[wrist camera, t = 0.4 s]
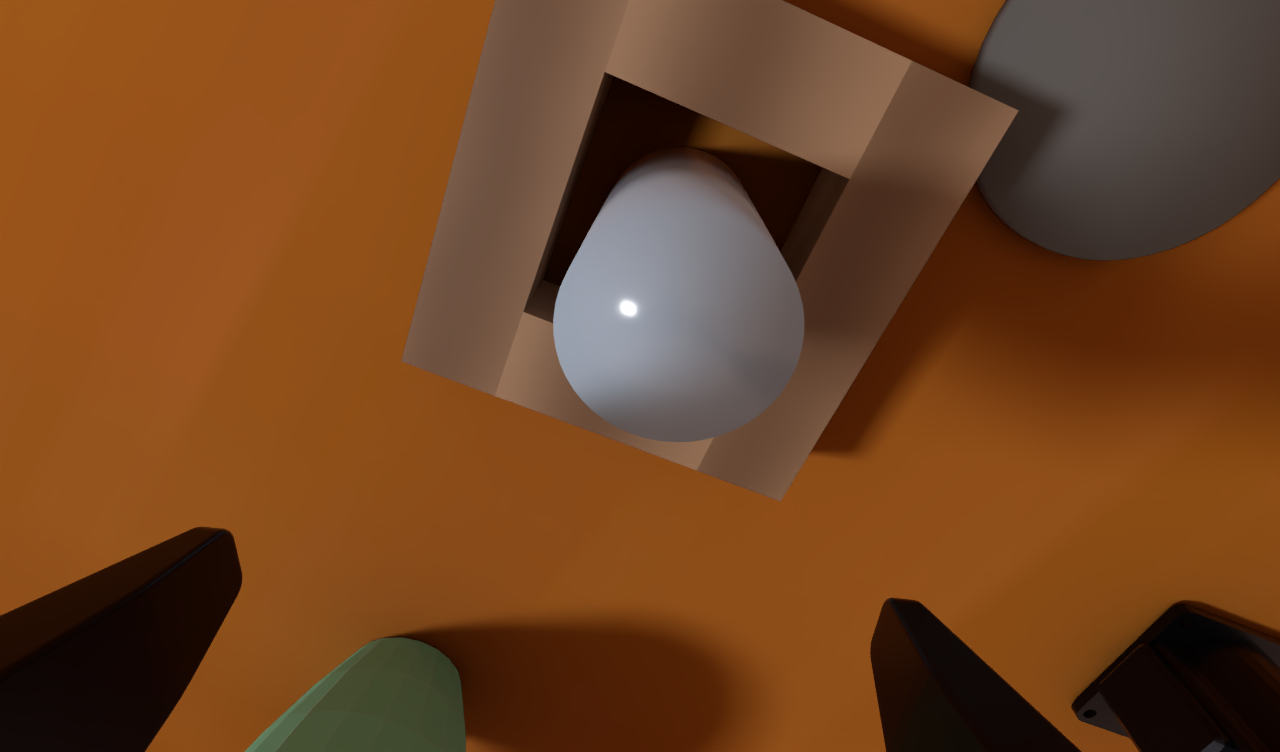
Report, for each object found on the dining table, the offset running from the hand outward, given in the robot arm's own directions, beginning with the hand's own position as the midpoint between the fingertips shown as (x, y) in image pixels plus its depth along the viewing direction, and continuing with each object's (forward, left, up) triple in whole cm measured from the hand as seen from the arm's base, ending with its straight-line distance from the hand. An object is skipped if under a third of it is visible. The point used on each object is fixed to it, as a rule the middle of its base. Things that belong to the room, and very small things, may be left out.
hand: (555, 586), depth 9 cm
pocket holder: (-1, -3, -13) cm, 13 cm away
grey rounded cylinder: (-1, -3, -13) cm, 13 cm away
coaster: (-11, -11, -13) cm, 20 cm away
